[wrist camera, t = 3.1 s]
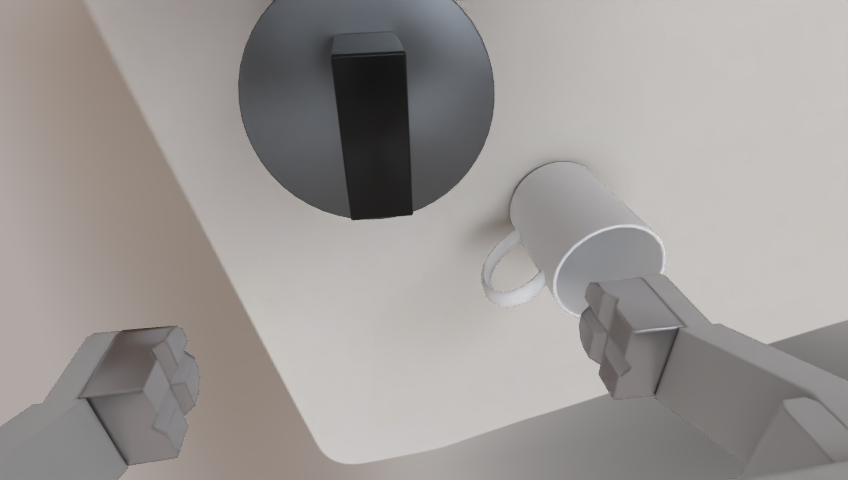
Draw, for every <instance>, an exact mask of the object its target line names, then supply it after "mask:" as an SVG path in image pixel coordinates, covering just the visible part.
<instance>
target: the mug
mask: <svg viewBox="0 0 848 480" xmlns="http://www.w3.org/2000/svg"><path fill="white" fill-rule="evenodd" d="M510 218H511V222H512V224H513V227H514V229H515V230H514V231H512V232H511V233H510V234H508V235H507V236H506V237H505V238H504V239H502V240H501V241H500V242H499V243H498V244H497V245H496V246H495V247H494V249H493V250H492V251H491V252H490V254H489V255H488V257H487V259H486V260H485V262H484V265H483V268H482V273H481V280H482V285H483V288H484V291H485V294H486V296H487V298H488V299H489V300H490V301H491V302H492V303H494V304H496V305H498V306H501V307H514V306H517V305H520V304H523V303H524V302H526V301H528V300H530V299H531V298H533V297H534V296H535V295H537V294H538V293H539V292H540V291H541V290H542V289H543V288H544V287H545V285H546V284H547V286H548V288H549V290H550V291H551V293H552V295H553V297H554V298H555V300H556V302H557V304H558V305H559V306H560V307H561V308H562V309H563V310H564V311H565V312H567V313H569V314H571V315H573V316H575V317H581V314H582V313H583V311H584V310H585V309H586V308H587V307H588V306H589V304H588V302H587V301H586V299H585V298H584V297H585V293H586V288H587V286H588V285H589V283H590V282H597V281H606V280H615V279H624V278H633V277H637V276H644V275H652V274H662V273H663V271H664V268H665V262H666V252H665V247H664V244H663V242H662V241H661V239H660V238H659V236H658V235H657V234H656V233H655V232H654V231H653V230H652V229H651V228H650V227H649V226H648V225H647V224H646V223H644V222H643V221H642V220H641V219H640V218H639V217H638V216H637V215H636V214H635V213H634V212H633V211H632V210H631V209H630V208H629V207H628V206H627V205H626V204H624V203H623V202H622V201H621V200H620V199H619V198H618V197H617V196H616V195H615V194H614V193H613V192H612V191H611V190H610V189H609V188H608V187H607V186H606V185H605V184H603V183H602V182H601V181H600V180H599V179H598V178H597V177H596V176H595V175H594V174H593V173H592V172H591V171H590V170H588V169H587V168H585V167H584V166H582V165H579V164H576V163H573V162H555V163H551V164H547V165H544V166H542V167H540V168H538V169H536V170H534V171H533V172H532V173H530V174H529V175H528V176H527V177H525V178H524V180H523V181H522V182H521V183H520V185H519V186H518V187H517V189H516V191H515V193H514V195H513V197H512V201H511V206H510ZM521 241H522V243H523V245H524V246H525V248H526V250H527V252H528V253H529V255H530V257H531V258H532V260H533V262H534V264H535V265H536V267H537V269H538V271H539V273H538V274H537V275H536V276H535V277H534V278H533V279H532V280H531V281H529V282H528V283H527V284H525V285H524V286H522V287H520V288H518V289H516V290H513V291H510V292H497V291H495V290H494V289H493V288H492V286H491V282H490V280H491V275H492V272H493V270H494V268H495V267H496V265H497V264H498V263H499V261H500V260H501V259H502V258H503V257H504V256H505V255H506V254H507V253H508V252H509V251H510V250H511V249H512V248H513V247H515V246H516V245H517V244H518V243H520V242H521Z"/></svg>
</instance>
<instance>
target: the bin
mask: <svg viewBox="0 0 848 480" xmlns="http://www.w3.org/2000/svg"><path fill="white" fill-rule="evenodd" d="M238 88H239V105H240V111H241V117H242V120H243V124H244V127H245V130H246V133H247V136H248V138H249V140H250V143H251V145H252V147H253V149H254V151H255V152H256V154H257V156H258V157H259V159H260V161H261V162H262V164H263V165H264V166H265V167H266V169H267V170H268V171H269V172H270V174H271V175H272V176H273V177H274V178H275V179H276V180H277V181H278V182H279V183H280V184H281V185H282V186H283V187H284V188H286V189H287V190H288V191H289V192H291V193H292V194H293V195H295V196H296V197H297V198H299V199H301V200H303V201H304V202H306V203H308V204H309V205H311V206H314V207H316V208H318V209H320V210H322V211H325V212H328V213H332V214H335V215H338V216H343V217H348V218H351V219H352V220H362V219H384V218H391V217H396V216H407V215H412V214H413V211H416V210H418V209H421V208H423V207H425V206H427V205H429V204H431V203H433V202H434V201H436V200H437V199H439V198H440V197H442V196H443V195H445V194H446V193H447V192H449V191H450V190H451V189H452V188H453V187H454V186H455V185H456V184H458V183H459V181H460V180H461V179H462V178H463V177H464V176H465V175H466V174H467V172H468V171H469V170H470V168H471V167H472V165H473V164H474V162H475V161H476V159H477V158H478V156H479V154H480V152H481V150H482V148H483V146H484V143H485V141H486V138H487V136H488V133H489V129H490V125H491V121H492V117H493V109H494V80H493V73H492V67H491V64H490V60H489V56H488V53H487V50H486V48H485V45H484V43H483V41H482V38H481V36H480V34H479V33H478V31H477V29H476V28H475V26H474V24H473V22H472V21H471V20H470V18H469V17H468V16H467V14H466V13H465V12H464V11H463V9H462V8H461V7H460V6H459V5H458V4H457V3H456V2H455V1H454V0H274V1H273V2H272V3H271V5H270V6H269V7H268V8H267V9H266V11H265V12H264V13H263V14H262V15H261V17H260V19H259V20H258V22H257V24H256V25H255V27H254V29H253V30H252V32H251V35H250V37H249V39H248V42H247V44H246V47H245V49H244V53H243V57H242V61H241V65H240V73H239V82H238Z"/></svg>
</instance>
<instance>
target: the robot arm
mask: <svg viewBox="0 0 848 480" xmlns="http://www.w3.org/2000/svg"><path fill="white" fill-rule="evenodd" d="M584 298H585V299H586V301H587V302H588V304H589V306H588V307H587V308H586V309H585V310H584V311H583V313H582V314H581V317H580V324H579V330H580V339H581V342H582V345H583V348H584V350H585V351H586V353H587V355H588V357H589V358H590V359H592V360H594V361H595V362H597V363H598V364H600V365H601V366H600V370H599V376H600V378H601V379H602V381H603V383H604V384H605V386H606V388H607V389H608V391H609V393H610V395H611V396H612V398H613V400H620V399H630V398H639V397H649V396H655V399H656V400H658V401H659V402H661V403H662V404H663V405H665V406H666V407H667V408H669V409H670V410H671V411H673V412H674V413H675V414H677V415H678V416H680V417H681V418H682V419H683V420H685V421H686V422H688V423H689V424H690V425H692V426H693V427H694V428H696V429H697V430H698V431H700V432H701V433H702V434H704V435H705V436H706V437H708V438H709V439H711V440H712V441H713V442H714V443H716V444H717V445H719V446H720V447H721V448H723V449H724V450H725V451H727V452H728V453H730V454H731V455H732V456H733V457H735V458H736V459H737V460H739V461H740V462H742V463H743V464H744V465H745V467H744V469H743V470H742V472H741V474H740V475H739V477H738V478H733V479H726V480H848V381H846V380H844V379H842V378H840V377H837V376H835V375H833V374H831V373H828V372H826V371H824V370H822V369H820V368H817V367H815V366H813V365H811V364H808V363H806V362H804V361H801V360H799V359H797V358H795V357H792V356H791V355H788V354H786V353H784V352H782V351H779V350H777V349H775V348H773V347H771V346H768V345H766V344H764V343H762V342H759V341H757V340H755V339H753V338H751V337H748V336H746V335H744V334H742V333H739V332H737V331H735V330H733V329H731V328H728V327H726V326H724V325H722V324H712V323H711V322H710V321H709V320H708V319H707V318H706V317H705V316H704V315H703V314H702V313H701V312H700V311H699V310H698V309H697V308H696V307H695V306H694V305H693V304H692V303H691V302H690V301H689V300H688V299H687V297H686V296H685V295H684V294H683V293H682V292H681V291H680V290H679V289H678V288H677V287H676V286H675V285H674V284H673V283H672V282H671V281H670V280H669V279H668V278H667V277H666V276H664V275H662V274H652V275H644V276H637V277H633V278H624V279H615V280H606V281H597V282H590V283H589V285H588V286H587V288H586V293H585V297H584ZM187 342H188V339H187V337H186V335H185V333H184V331H183V329H182V328H181V327H178V326H167V327H155V328H143V329H132V330H122V331H112V332H102V333H94V334H92V335H90V336H89V337H87V338H86V339H85V341H84V342H83V344H82V345H81V347H80V348H79V349H78V351H77V353H76V354H75V355H74V357H73V358H72V360H71V361H70V363H69V364H68V366H67V367H66V369H65V370H64V372H63V373H62V375H61V376H60V378H59V379H58V381H57V383H56V384H55V385H54V387H53V388H52V390H51V391H50V393H49V394H48V396H47V397H46V399H45V400H44V402H43V403H41V404H34V405H31V406H30V407H29V408H27V409H25V410H24V411H23V412H21V413H20V414H18V415H17V416H15V417H14V418H12V419H11V420H9V421H8V422H7V423H5V424H4V425H2V426H1V427H0V480H118V479H119V478H120V477H121V476H122V475H123V474H124V473H125V471H126V470H127V469H128V466H129V465H136V464H142V463H148V462H155V461H161V460H167V459H173V458H178V455H179V452H180V449H181V446H182V443H183V440H184V437H185V434H186V431H187V429H188V424H187V422H186V419H185V417H184V416H185V414H187V413H188V412H189V411H190V410H191V409H192V408H193V407H194V406H195V404H196V401H197V398H198V395H199V385H200V375H199V368H198V365H197V362H196V359H195V357H193V356H192V355H190V354H188V353H187V352H186V351H184V350H185V347H186V345H187Z"/></svg>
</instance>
